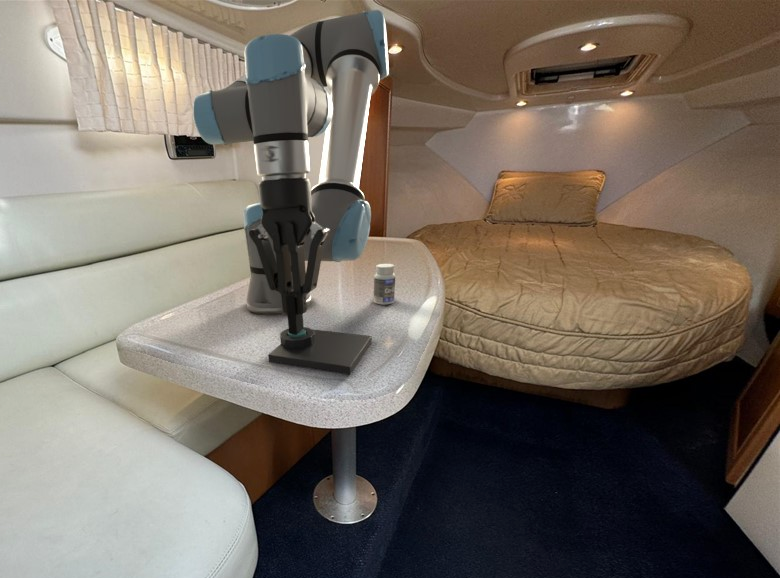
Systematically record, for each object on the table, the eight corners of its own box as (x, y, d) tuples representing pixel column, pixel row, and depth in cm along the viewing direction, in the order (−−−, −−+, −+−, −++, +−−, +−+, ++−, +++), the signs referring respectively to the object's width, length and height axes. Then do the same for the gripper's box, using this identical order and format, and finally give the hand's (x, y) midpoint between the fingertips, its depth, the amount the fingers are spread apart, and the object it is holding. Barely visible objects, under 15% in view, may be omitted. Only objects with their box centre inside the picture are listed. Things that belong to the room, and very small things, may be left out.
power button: (286, 342, 62) (285, 334, 62) (293, 335, 65) (293, 327, 64) (301, 344, 61) (301, 336, 60) (309, 337, 63) (308, 329, 63)
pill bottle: (386, 306, 81) (388, 268, 77) (369, 302, 84) (369, 266, 80) (398, 300, 84) (400, 264, 80) (381, 297, 87) (382, 262, 83)
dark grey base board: (266, 361, 60) (264, 345, 59) (298, 334, 70) (296, 319, 68) (350, 375, 54) (349, 357, 53) (371, 343, 64) (372, 327, 63)
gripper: (230, 181, 51) (252, 334, 61) (315, 175, 46) (323, 344, 56) (258, 179, 57) (274, 319, 68) (335, 174, 52) (339, 326, 62)
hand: (296, 330), depth 62 cm, fingers closed
